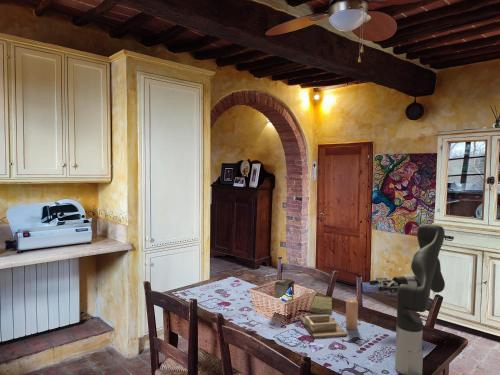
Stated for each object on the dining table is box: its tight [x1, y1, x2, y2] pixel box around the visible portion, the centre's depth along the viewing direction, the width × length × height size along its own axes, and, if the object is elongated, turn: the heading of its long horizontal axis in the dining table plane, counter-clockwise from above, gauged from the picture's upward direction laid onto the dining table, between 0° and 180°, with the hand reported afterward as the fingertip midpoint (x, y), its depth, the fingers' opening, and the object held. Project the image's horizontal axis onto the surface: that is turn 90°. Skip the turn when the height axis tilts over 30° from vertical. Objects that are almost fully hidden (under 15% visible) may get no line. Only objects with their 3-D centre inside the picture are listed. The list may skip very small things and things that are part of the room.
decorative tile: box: [311, 295, 333, 315], centre depth 205 cm, size 19×20×4 cm
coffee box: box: [274, 278, 295, 298], centre depth 197 cm, size 9×6×16 cm
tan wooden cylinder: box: [345, 298, 359, 331], centre depth 179 cm, size 5×5×13 cm
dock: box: [299, 314, 348, 339], centre depth 178 cm, size 20×16×4 cm
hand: (374, 285), depth 180 cm, fingers open, 8 cm apart
